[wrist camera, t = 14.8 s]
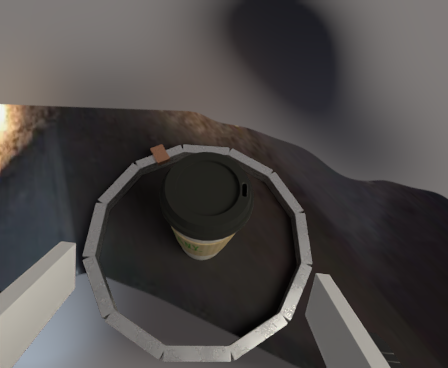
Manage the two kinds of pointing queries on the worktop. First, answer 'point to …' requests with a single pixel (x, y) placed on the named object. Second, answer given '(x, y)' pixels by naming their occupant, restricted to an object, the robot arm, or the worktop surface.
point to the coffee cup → (206, 202)
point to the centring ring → (141, 336)
